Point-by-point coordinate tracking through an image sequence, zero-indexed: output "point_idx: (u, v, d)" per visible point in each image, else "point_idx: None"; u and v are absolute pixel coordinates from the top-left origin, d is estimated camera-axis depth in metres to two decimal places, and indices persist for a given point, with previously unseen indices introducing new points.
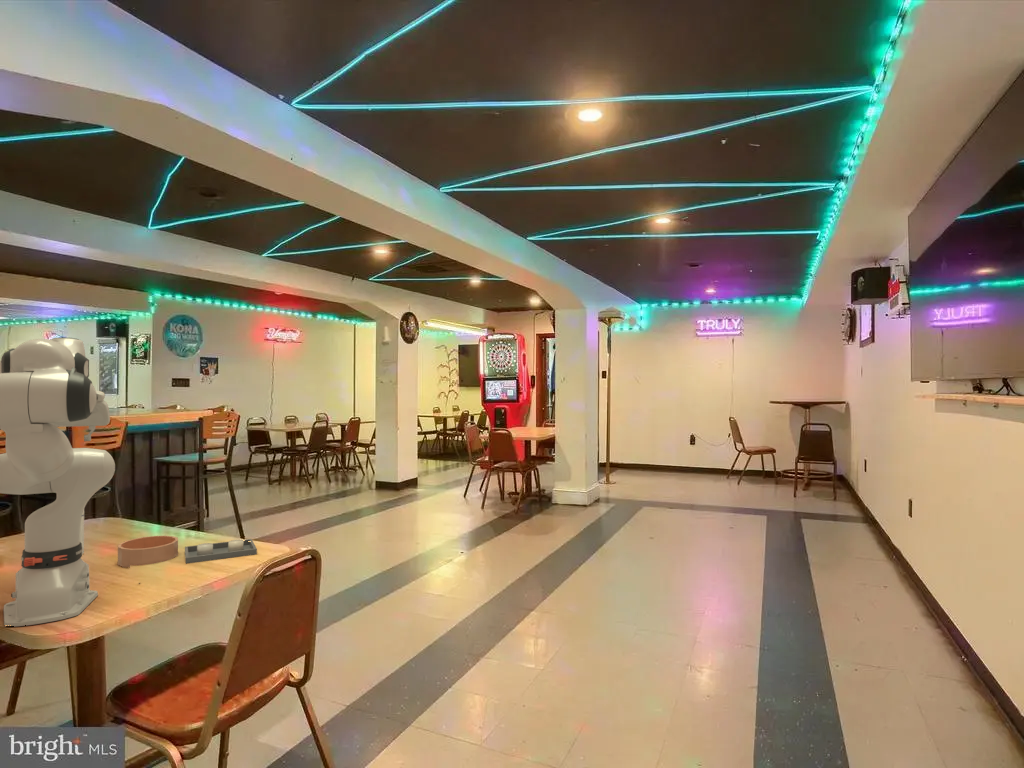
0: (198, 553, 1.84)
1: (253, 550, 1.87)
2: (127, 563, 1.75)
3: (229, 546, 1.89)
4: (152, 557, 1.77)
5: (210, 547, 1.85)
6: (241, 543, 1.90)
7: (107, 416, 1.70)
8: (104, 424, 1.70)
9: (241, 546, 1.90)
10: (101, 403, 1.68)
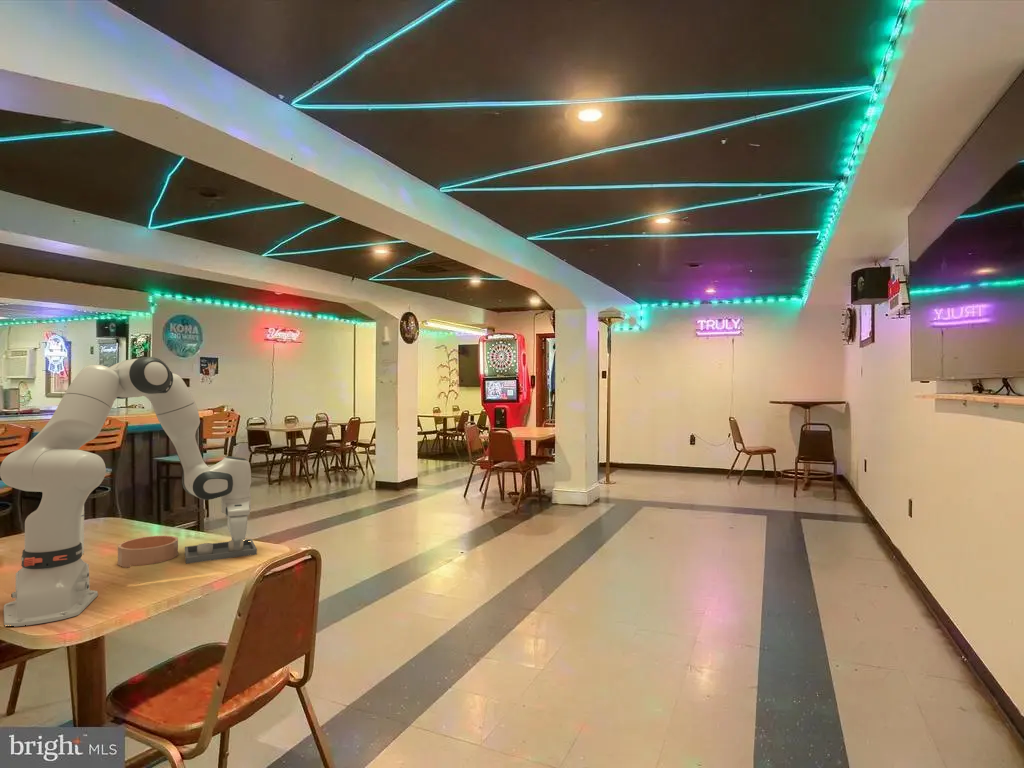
0: (198, 553, 1.84)
1: (253, 550, 1.87)
2: (127, 563, 1.75)
3: (229, 546, 1.89)
4: (152, 557, 1.77)
5: (210, 547, 1.85)
6: (241, 543, 1.90)
7: (232, 532, 1.81)
8: (232, 539, 1.82)
9: (241, 546, 1.90)
10: (230, 519, 1.82)
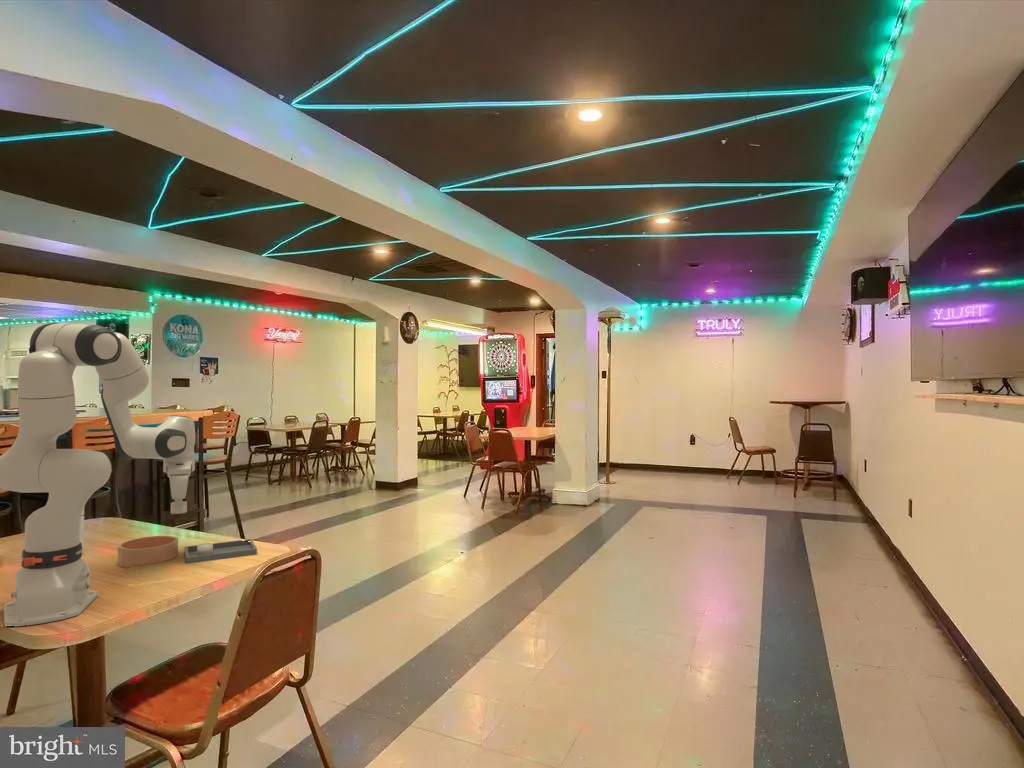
0: (198, 553, 1.84)
1: (253, 550, 1.87)
2: (127, 563, 1.75)
3: (171, 507, 1.84)
4: (152, 557, 1.77)
5: (210, 547, 1.85)
6: (184, 504, 1.85)
7: (171, 490, 1.77)
8: (172, 498, 1.77)
9: (184, 507, 1.85)
10: (169, 477, 1.78)
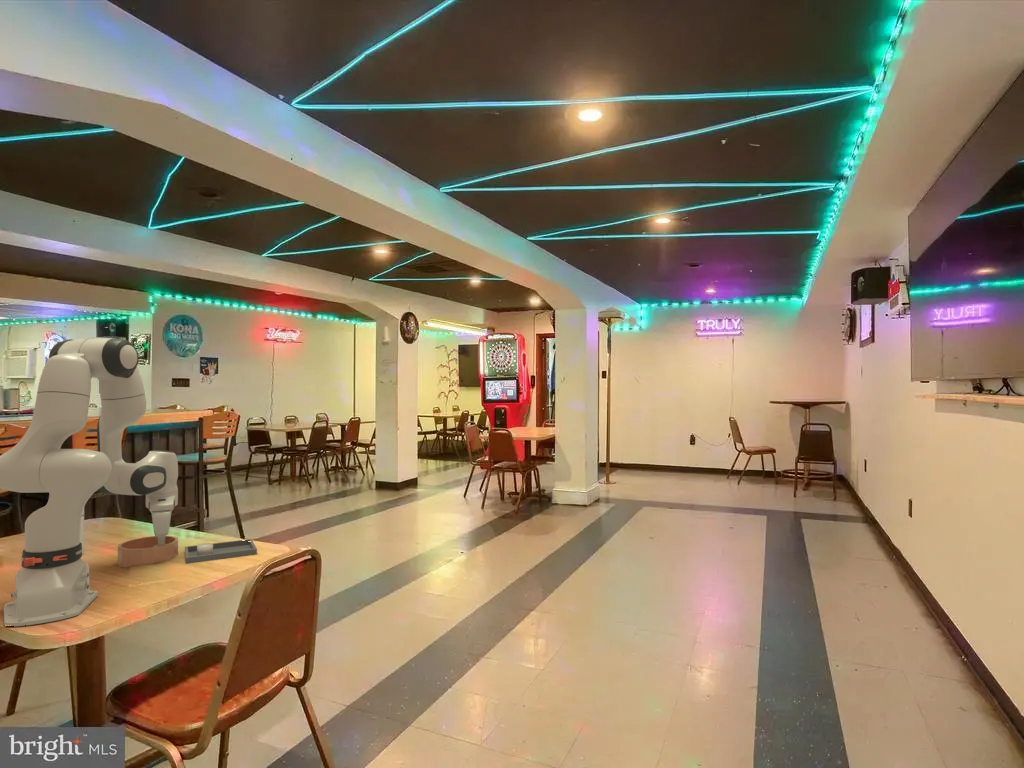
0: (198, 553, 1.84)
1: (253, 550, 1.87)
2: (127, 563, 1.75)
3: None
4: (152, 557, 1.77)
5: (210, 547, 1.85)
6: None
7: (153, 527, 1.76)
8: (154, 534, 1.77)
9: None
10: (152, 514, 1.77)
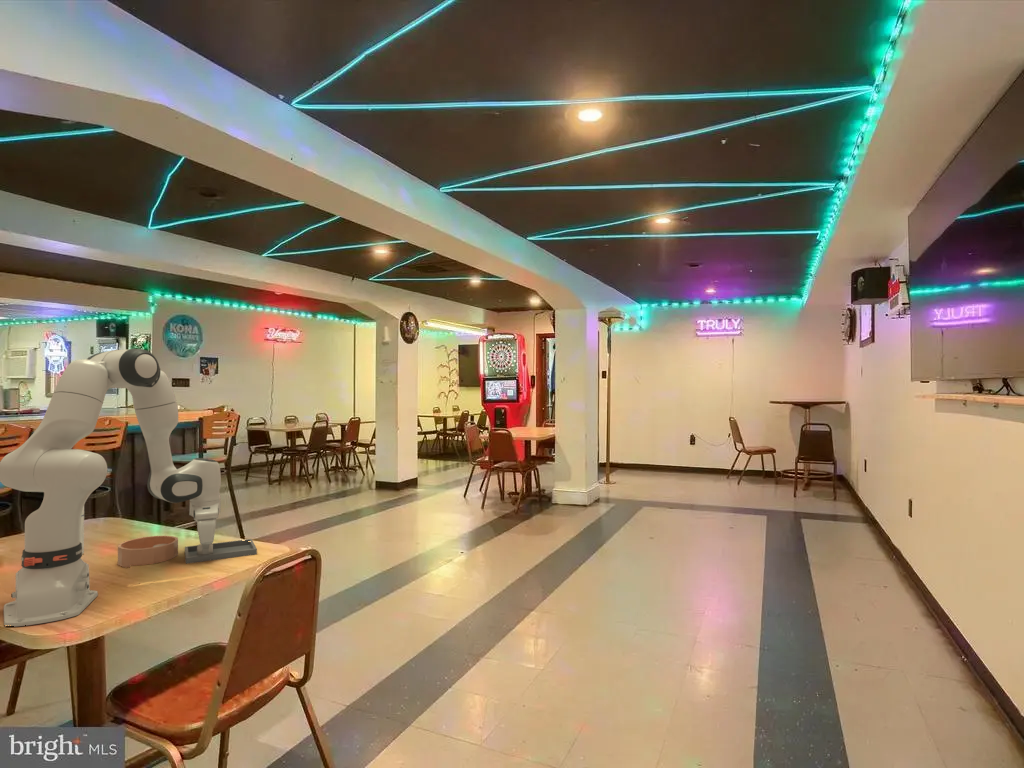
0: (198, 553, 1.84)
1: (253, 550, 1.87)
2: (127, 563, 1.75)
3: None
4: (152, 557, 1.77)
5: (210, 547, 1.85)
6: None
7: (199, 536, 1.77)
8: (200, 543, 1.78)
9: None
10: (197, 522, 1.78)
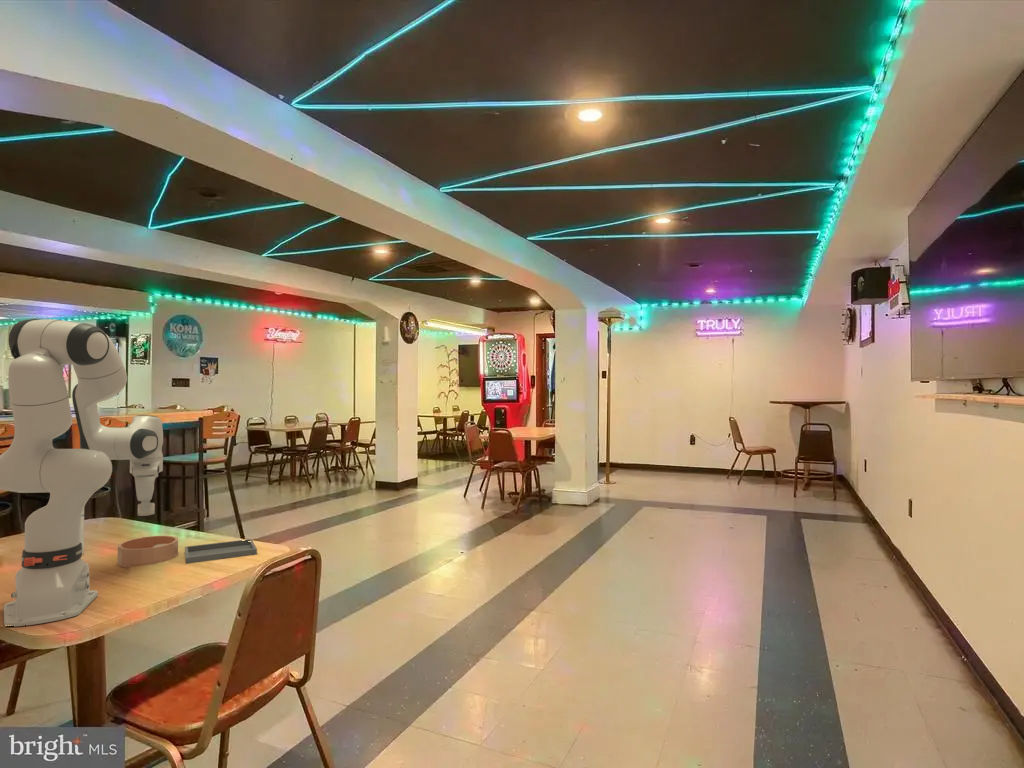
0: (138, 511, 1.80)
1: (253, 550, 1.87)
2: (127, 563, 1.75)
3: None
4: (152, 557, 1.77)
5: (151, 506, 1.81)
6: None
7: (136, 492, 1.73)
8: (137, 499, 1.73)
9: None
10: (135, 478, 1.74)
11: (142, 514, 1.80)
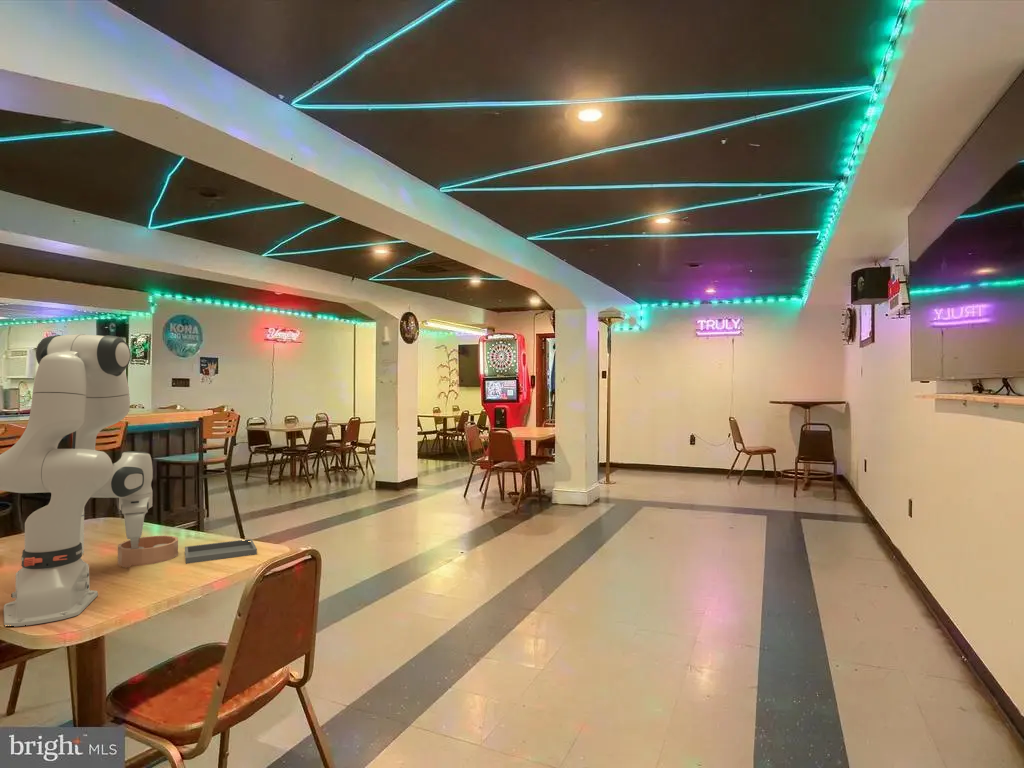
0: None
1: (253, 550, 1.87)
2: (127, 563, 1.75)
3: None
4: (152, 557, 1.77)
5: None
6: None
7: (126, 530, 1.72)
8: (127, 537, 1.73)
9: None
10: (124, 516, 1.73)
11: None
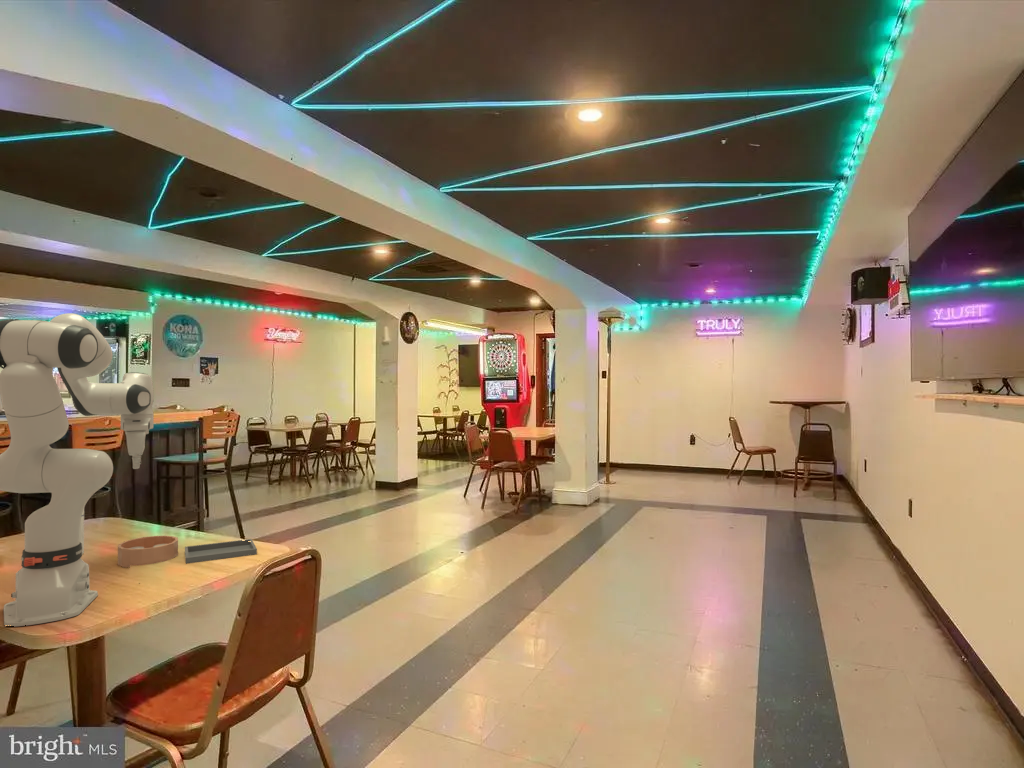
0: None
1: (253, 550, 1.87)
2: (127, 563, 1.75)
3: None
4: (152, 557, 1.77)
5: None
6: None
7: (127, 446, 1.76)
8: (129, 454, 1.77)
9: None
10: (126, 433, 1.77)
11: None
